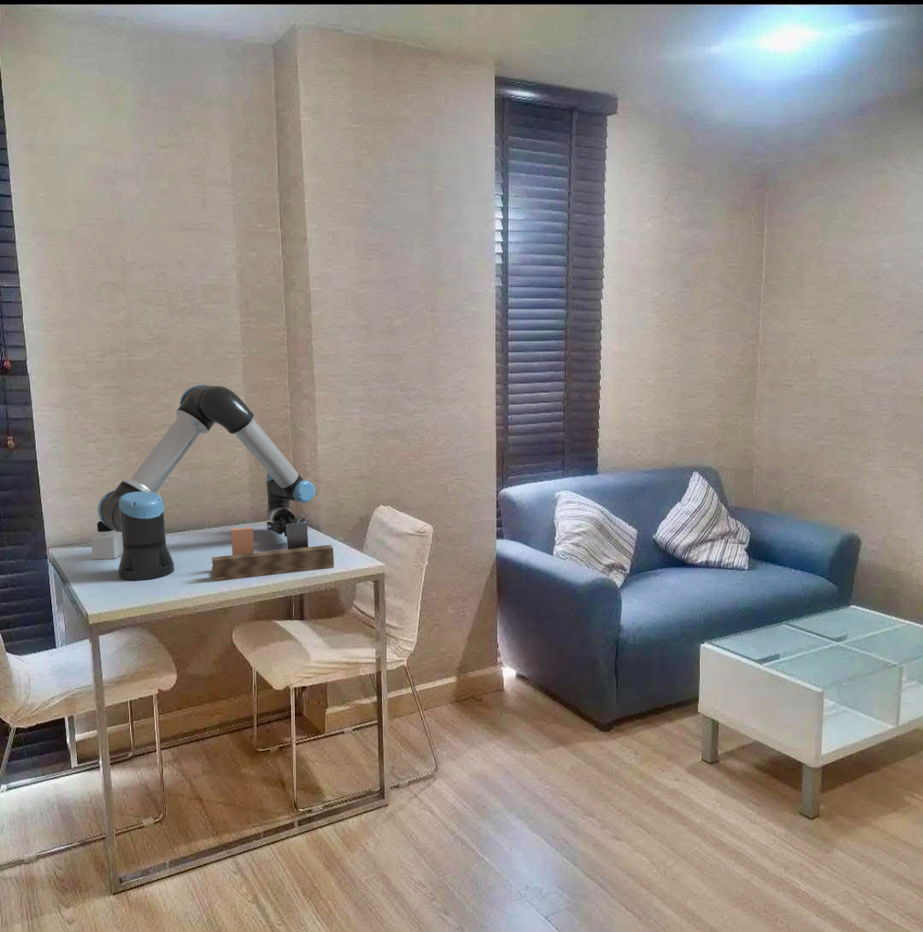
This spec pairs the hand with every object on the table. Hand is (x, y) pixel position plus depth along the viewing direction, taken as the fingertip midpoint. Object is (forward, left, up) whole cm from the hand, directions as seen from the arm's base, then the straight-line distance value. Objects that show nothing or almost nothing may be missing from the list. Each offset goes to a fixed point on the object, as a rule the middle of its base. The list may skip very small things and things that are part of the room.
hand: (293, 534), depth 243 cm
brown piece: (-8, -12, -7) cm, 16 cm away
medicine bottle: (-55, +25, -7) cm, 61 cm away
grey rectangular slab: (0, -9, -6) cm, 10 cm away
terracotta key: (-16, -9, -6) cm, 19 cm away
